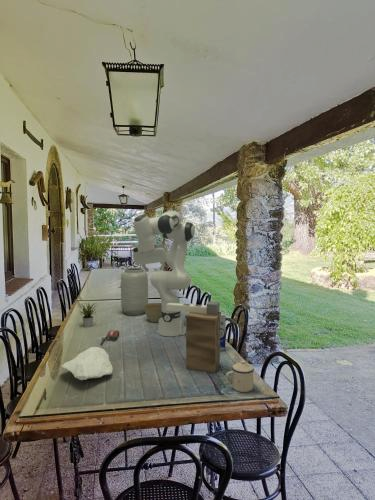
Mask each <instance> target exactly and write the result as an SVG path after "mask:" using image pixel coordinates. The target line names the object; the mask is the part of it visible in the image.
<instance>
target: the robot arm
mask: <svg viewBox="0 0 375 500" xmlns="http://www.w3.org/2000/svg"><path fill="white" fill-rule="evenodd" d="M182 220H183V218H182V215H181V213H180V212H178V211H175V210H168V211H165V212H163V213H162V214H160V216H155V217H149V216H148V215H147V214H141V215H138V216H136V217H134V219H133V227H134V231H135V235H136V237H137V243H138V244H137V245H136V246H135V247H133V248H132V249H131V253H132V259H133V264H135V266H139V265H140V266H141V268H143V269H144V272H146V273H148V272H149V271H150V269H149V267H147V266H146V265H148V264H156V263H157V264H158V263H159V264H160V266H159V270H157V271H154V272H152V274H151V276H150V279H149V280H150V284H151V286H152V287H153V288H155V290H157V292H158V294H159V296H160V300H161V301H160V303H161V306H162V310H161V318H160V319H159V322H158V326H157V327H158V329H156V331H155V332H156V333H158V334H159V335H160V336H163V337H178V336H184V335H185V336H186V325H185V324H184V323H185V321H184V318H183V317H182V316H181V314H182V313H181V312H180V311H168V310H166V304H168V303H180V299H179V298H180V297H178V296H177V294H175V293H173V291H172V290H179V291H180V290H187V289H188V288H189V287H190V286H191V281H192V280H191V278H192V277H191V276H190V274H189V273H188V272H187V270H186V269H185V262H186V261H185V260H186V257H187V256H186V255H187V252H188V243H189V242H190V241H191V240H192V239H193V238H194V236H195V234H196V230H195V229H196V227H195V225H194V223H192V222H190V221H189V222H186V221H182ZM159 235H161V236H162V237H163V238H165V239H172V240H173V242H172V243H171V245H170V248H169V250H168V249H167V246H166V245H165V244H162V243H161V244H157V242H156V238H155V236H159ZM165 263H166V264H167V266H168V267H169V268H171V269H172V270H165V268H164V266H165Z"/></svg>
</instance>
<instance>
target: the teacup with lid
mask: <svg viewBox="0 0 375 500" xmlns="http://www.w3.org/2000/svg"><path fill="white" fill-rule="evenodd" d="M254 372H255V368H254V366H253V365H252V364H250V363H247V362H246V360H241V361H240V362H236V363H235V364H233V365H232V370H231V371H228V372H226V374H225V380H226V381H227V382H228V383H229V384H232V388H233V389H234V390H235V391H237V392H242V393H248V392H250V391H252V390H253V389H254ZM231 374H232V380H230V379H228V377H229V375H231Z"/></svg>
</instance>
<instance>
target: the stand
mask: <svg viewBox="0 0 375 500" xmlns="http://www.w3.org/2000/svg"><path fill="white" fill-rule="evenodd" d="M220 315H222V312H221V311H219V313H218V314H217V315H209V314H204V313H192V312H187V313H186V314H185V315H184V319H185V323H186V324H185V326H186V333H185V369H186V370H192V371H199V372H206V373H213V374H215V373H216V371H217V369H218V368H219V366H220V365H221V361H220V360H221V359H220V358H221V356H220V355H221V354H220V353H221V351H220Z"/></svg>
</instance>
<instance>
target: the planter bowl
mask: <svg viewBox="0 0 375 500" xmlns="http://www.w3.org/2000/svg"><path fill="white" fill-rule="evenodd" d="M144 307H145V312H144V314H145V316H146V317H147V319H148V321H149V322H151V323H159V319H160V318H161V310H162V306H161V302H150V303H149V302H148V304H146V305H144Z"/></svg>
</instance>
